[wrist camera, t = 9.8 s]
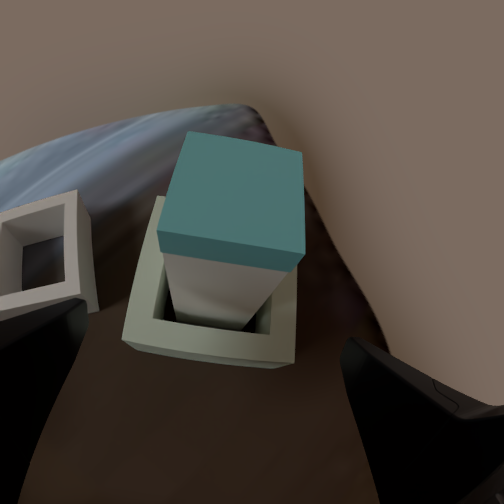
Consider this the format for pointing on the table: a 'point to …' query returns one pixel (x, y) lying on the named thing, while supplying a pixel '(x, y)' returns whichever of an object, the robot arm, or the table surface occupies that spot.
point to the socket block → (203, 338)
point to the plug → (230, 227)
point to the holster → (40, 229)
